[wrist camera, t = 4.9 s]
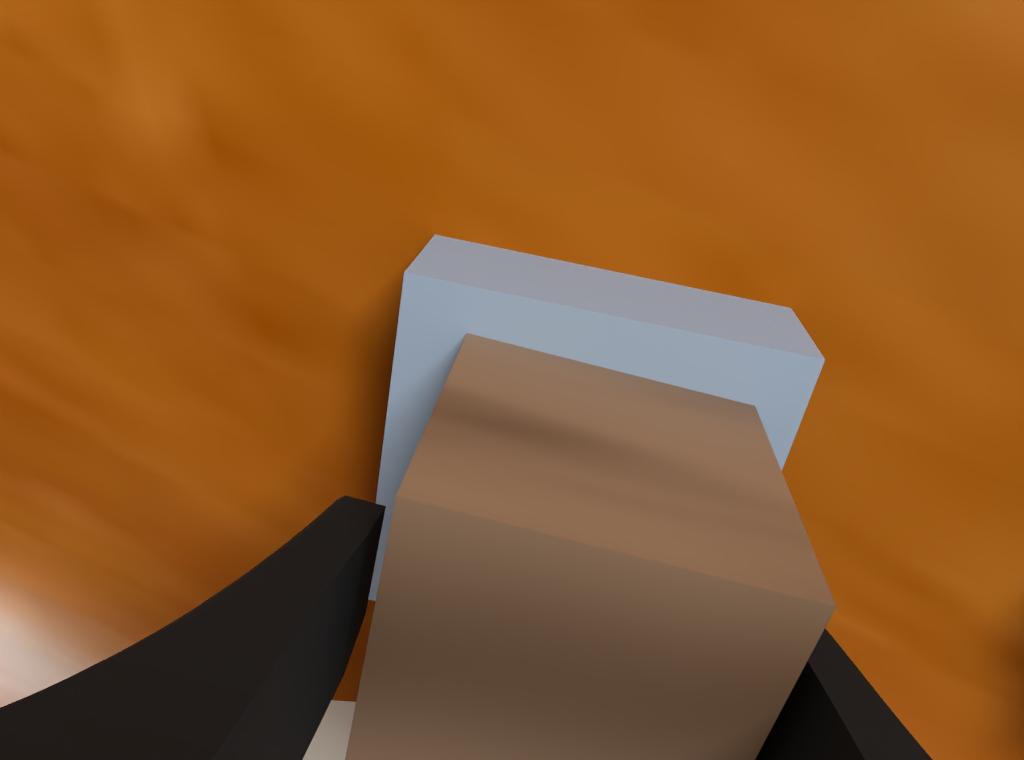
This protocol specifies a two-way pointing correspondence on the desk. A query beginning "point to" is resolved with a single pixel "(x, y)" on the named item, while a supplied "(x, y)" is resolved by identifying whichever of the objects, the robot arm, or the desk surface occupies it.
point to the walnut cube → (585, 574)
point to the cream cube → (332, 733)
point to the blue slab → (585, 340)
